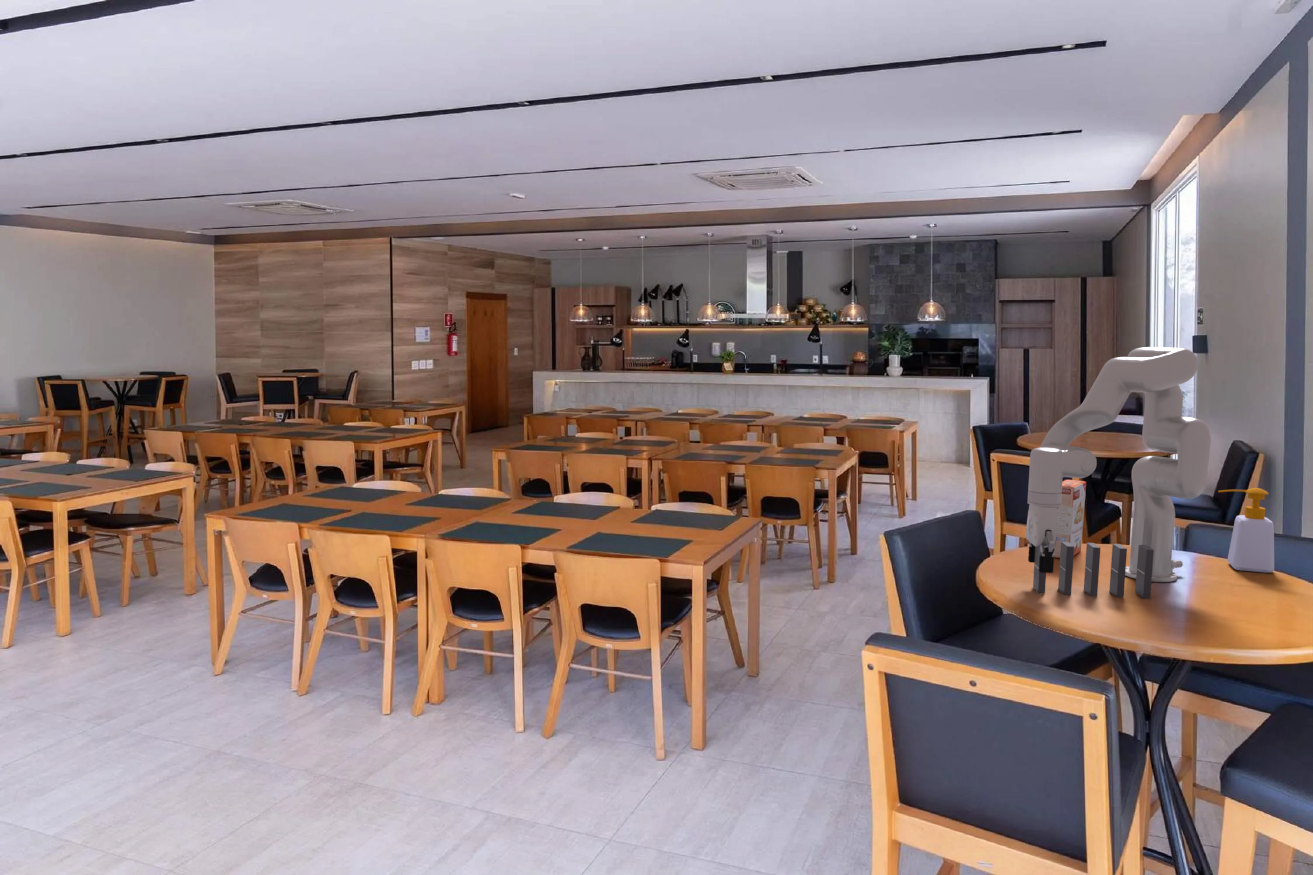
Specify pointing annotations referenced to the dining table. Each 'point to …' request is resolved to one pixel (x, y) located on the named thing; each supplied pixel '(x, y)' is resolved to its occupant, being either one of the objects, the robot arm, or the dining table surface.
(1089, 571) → the domino
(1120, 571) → the domino
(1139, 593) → the domino
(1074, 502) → the cracker box
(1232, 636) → the dining table surface
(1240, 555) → the soap bottle
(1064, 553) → the domino
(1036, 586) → the domino
